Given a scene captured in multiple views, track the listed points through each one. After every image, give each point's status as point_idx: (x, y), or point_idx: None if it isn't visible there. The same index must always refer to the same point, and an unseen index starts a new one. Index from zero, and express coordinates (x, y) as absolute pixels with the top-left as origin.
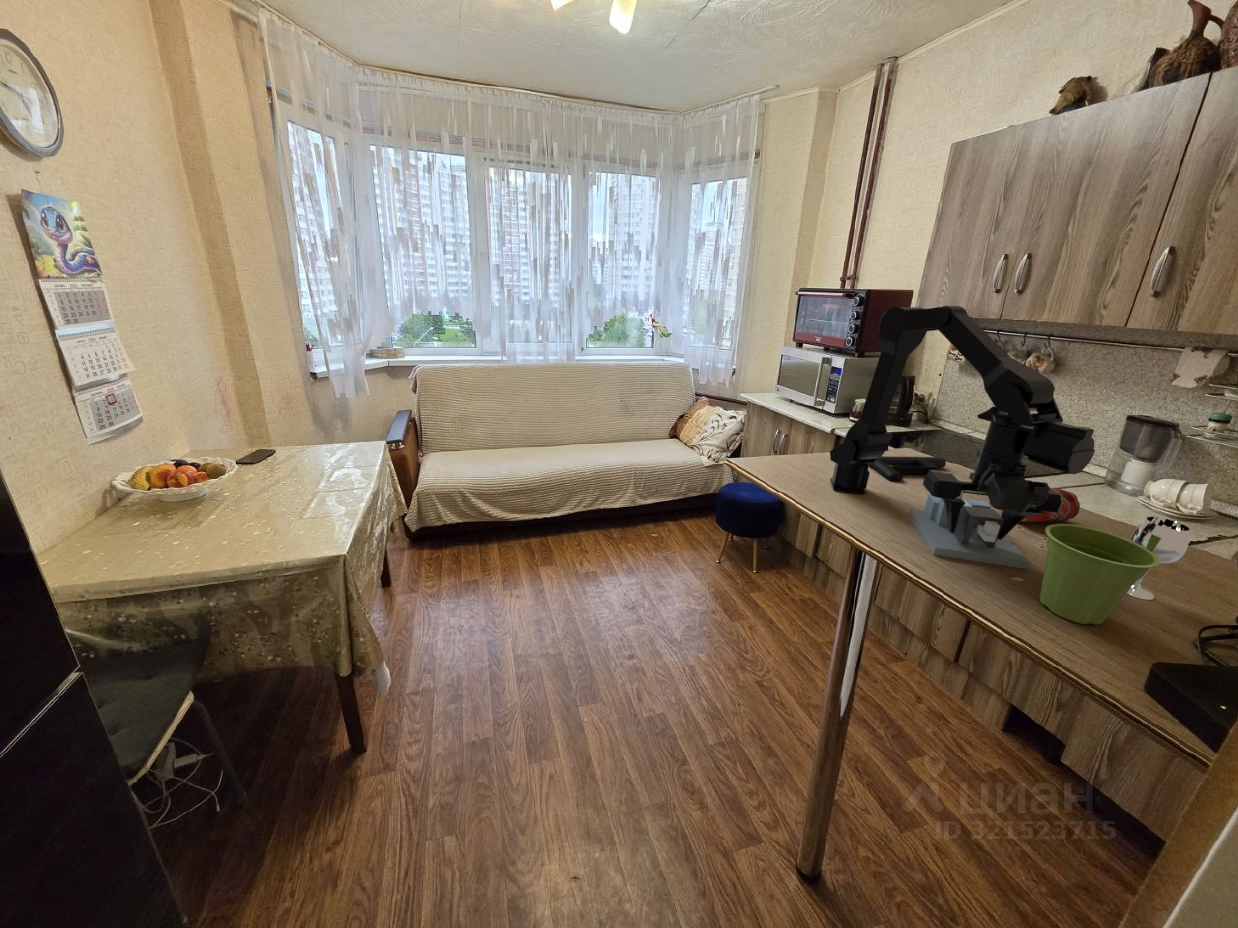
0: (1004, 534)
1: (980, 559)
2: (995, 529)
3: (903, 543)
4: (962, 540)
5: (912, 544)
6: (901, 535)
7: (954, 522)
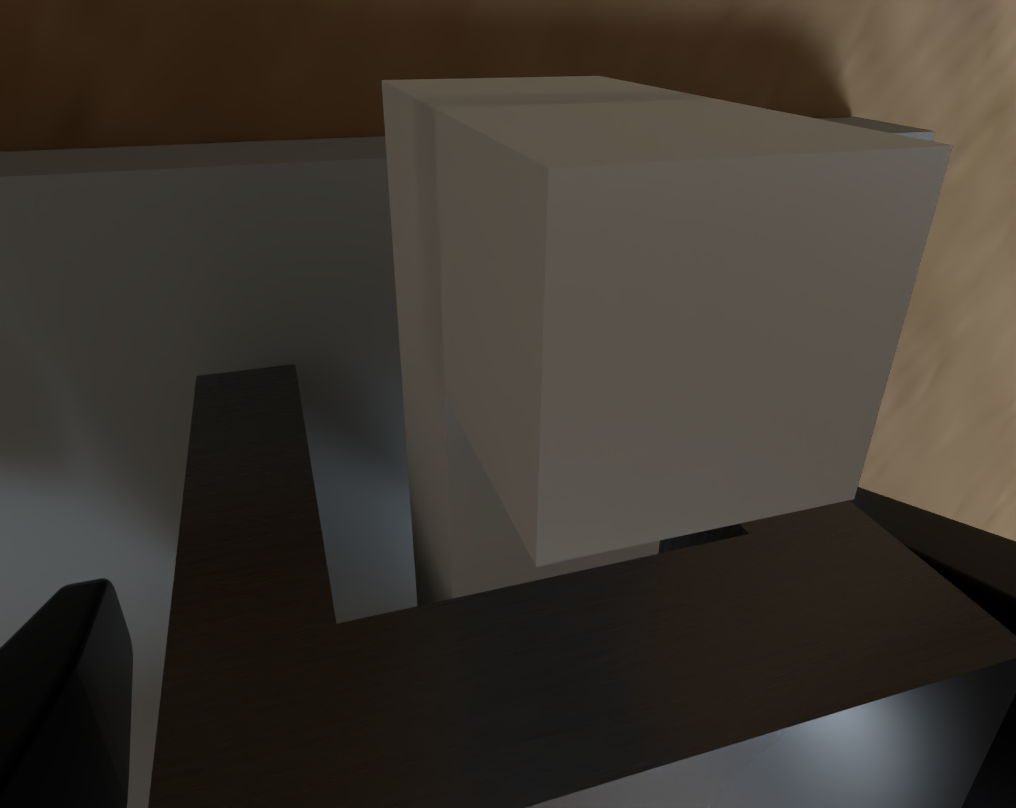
0: (24, 652)
1: (384, 141)
2: (603, 131)
3: (1000, 272)
4: None
5: (932, 288)
6: (931, 428)
7: (913, 530)
